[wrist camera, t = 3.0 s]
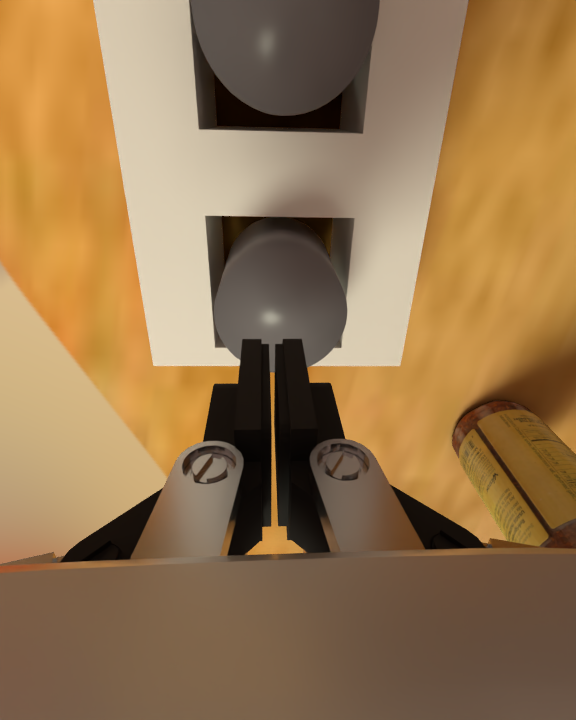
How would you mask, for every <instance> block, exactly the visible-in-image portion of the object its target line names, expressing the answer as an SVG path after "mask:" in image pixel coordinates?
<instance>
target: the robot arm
mask: <svg viewBox="0 0 576 720" xmlns="http://www.w3.org/2000/svg"><path fill="white" fill-rule="evenodd" d="M274 428H275V456H276V482H277V509H278V526H287V540H292V541H294V542H295V543H296V544H297V545H299V546H300V547H301V548H302V549H304V551H303V553H296V554H266V555H247V552H248V551H249V550H250V549H252V548H253V547H254V546H255V545H256V544H257V543H258V542H259V541H262V527H268V526H271V394H270V359H269V344H262V340H261V339H242V348H241V358H240V369H239V380H238V384H214V386H213V391H212V397H211V402H210V407H209V413H208V418H207V424H206V429H205V434H204V440H203V442H202V443H197V444H195V445H193V446H191V447H189V448H187V449H186V450H185V451H184V452H182V453H181V454H180V456H179V457H178V459H177V460H176V462H175V464H174V466H173V468H172V470H171V472H170V475H169V477H168V479H167V481H166V483H165V485H164V487H163V488H162V489H161V490H159V491H157V492H156V493H154V494H153V495H151V496H150V497H149V498H147V499H145V500H144V501H142V502H140V503H139V504H137V505H136V506H135V507H133V508H131V509H130V510H128V511H127V512H125V513H123V514H122V515H120V516H119V517H117V518H116V519H114V520H113V521H111V522H110V523H108V524H107V525H105V526H103V527H102V528H100V529H99V530H97V531H96V532H94V533H93V534H91V535H89V536H88V537H86V538H85V539H83V540H82V541H80V542H79V543H78V544H76V545H75V546H74V547H73V548H71V549H70V550H69V551H68V552H67V554H66V555H65V556H61V557H57V558H56V556H55V554H54V552H52V553H48V554H43V555H39V556H34V557H30V558H26V559H21V560H17V561H12V562H8V563H3V564H0V720H576V549H568V548H545V547H539V546H533V545H527V544H521V543H515V542H509V541H504V540H498V539H492V538H490V539H489V542H488V544H487V543H482V542H481V541H480V540H479V539H478V538H477V537H476V536H474V535H473V534H472V533H470V532H469V531H468V530H466V529H465V528H463V527H461V526H460V525H458V524H456V523H454V522H453V521H451V520H449V519H448V518H446V517H444V516H443V515H441V514H439V513H437V512H436V511H434V510H432V509H431V508H429V507H427V506H426V505H424V504H422V503H421V502H419V501H417V500H415V499H414V498H412V497H410V496H409V495H407V494H405V493H404V492H402V491H400V490H398V489H397V488H395V487H393V486H392V485H390V484H389V482H388V480H387V478H386V476H385V475H384V473H383V471H382V469H381V467H380V465H379V464H378V462H377V460H376V458H375V456H374V455H373V454H372V453H371V451H370V450H369V449H367V448H366V447H365V446H363V445H362V444H360V443H357V442H355V441H352V440H347V439H345V436H344V432H343V428H342V424H341V421H340V417H339V413H338V409H337V405H336V401H335V397H334V393H333V390H332V386H331V383H310V382H309V376H308V371H307V365H306V359H305V354H304V348H303V343H302V339H283V340H282V344H275V410H274Z"/></svg>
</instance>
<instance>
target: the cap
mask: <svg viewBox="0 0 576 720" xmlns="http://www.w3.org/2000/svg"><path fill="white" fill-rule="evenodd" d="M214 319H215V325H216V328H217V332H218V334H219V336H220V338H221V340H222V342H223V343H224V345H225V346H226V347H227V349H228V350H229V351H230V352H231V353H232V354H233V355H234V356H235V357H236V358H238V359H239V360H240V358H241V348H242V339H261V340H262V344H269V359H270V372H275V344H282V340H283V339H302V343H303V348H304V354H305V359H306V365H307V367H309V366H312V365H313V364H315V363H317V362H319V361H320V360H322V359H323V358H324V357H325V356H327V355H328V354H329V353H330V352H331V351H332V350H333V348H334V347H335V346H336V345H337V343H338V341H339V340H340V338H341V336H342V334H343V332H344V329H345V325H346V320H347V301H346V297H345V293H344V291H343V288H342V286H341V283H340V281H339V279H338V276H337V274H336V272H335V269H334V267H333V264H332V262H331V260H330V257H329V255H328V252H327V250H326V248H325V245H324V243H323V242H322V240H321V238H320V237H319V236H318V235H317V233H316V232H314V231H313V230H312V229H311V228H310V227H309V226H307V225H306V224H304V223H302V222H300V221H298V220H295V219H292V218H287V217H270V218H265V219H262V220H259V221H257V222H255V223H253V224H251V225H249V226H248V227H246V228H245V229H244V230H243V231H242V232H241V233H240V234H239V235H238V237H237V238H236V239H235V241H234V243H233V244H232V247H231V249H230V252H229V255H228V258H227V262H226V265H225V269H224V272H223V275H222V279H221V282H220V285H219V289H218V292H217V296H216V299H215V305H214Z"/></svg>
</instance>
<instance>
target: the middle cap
mask: <svg viewBox="0 0 576 720" xmlns="http://www.w3.org/2000/svg"><path fill="white" fill-rule="evenodd" d="M379 4H380V0H191V6H192V14H193V20H194V25H195V29H196V34H197V37H198V40H199V43H200V46H201V48H202V51H203V53H204V55H205V57H206V59H207V61H208V63H209V65H210V66H211V68H212V70H213V71H214V73H215V75H216V76H217V77H218V78H219V80H220V81H221V82H222V84H223V85H224V86H225V87H226V88H227V89H228V90H229V91H230V92H231V93H232V94H233V95H235V96H236V97H237V98H238V99H240V100H241V101H242V102H244V103H246V104H247V105H249V106H251V107H252V108H255V109H257V110H259V111H261V112H264V113H267V114H271V115H279V116H287V115H298V114H303V113H307V112H310V111H313V110H316V109H318V108H320V107H322V106H323V105H325V104H327V103H329V102H330V101H331V100H333V99H334V98H335V97H337V96H338V95H339V94H340V93H341V92H342V91H343V90H344V89H345V88H346V87H347V86H348V85H349V84H350V82H351V81H352V80H353V79H354V77H355V76H356V74H357V73H358V71H359V70H360V68H361V67H362V65H363V63H364V61H365V59H366V57H367V55H368V52H369V49H370V47H371V44H372V41H373V38H374V34H375V30H376V27H377V21H378V14H379Z"/></svg>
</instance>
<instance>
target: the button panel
mask: <svg viewBox="0 0 576 720" xmlns="http://www.w3.org/2000/svg"><path fill="white" fill-rule="evenodd" d="M468 1H469V0H380V4H379V14H378V21H377V27H376V30H375V34H374V38H373V41H372V44H371V47H370V49H369V52H368V55H367V57H366V59H365V61H364V63H363V65H362V67H361V68H360V70H359V71H358V73H357V74H356V76H355V77H354V79H353V80H352V81H351V82H350V84H349V85H348V86H347V87H346V88H345V89H344V90H343V91H342V104H341V117H340V129H317V128H278V127H239V126H217V118H216V100H215V82H214V71H213V70H212V68H211V66H210V65H209V63H208V61H207V59H206V57H205V55H204V53H203V51H202V48H201V46H200V43H199V40H198V37H197V34H196V29H195V25H194V20H193V14H192V6H191V0H93V2H94V8H95V14H96V20H97V26H98V32H99V38H100V44H101V50H102V57H103V63H104V69H105V75H106V81H107V87H108V93H109V99H110V105H111V111H112V117H113V123H114V129H115V135H116V141H117V147H118V154H119V160H120V166H121V172H122V178H123V184H124V190H125V196H126V202H127V208H128V214H129V220H130V226H131V232H132V238H133V244H134V251H135V257H136V263H137V269H138V275H139V281H140V287H141V293H142V299H143V305H144V311H145V317H146V323H147V329H148V335H149V341H150V348H151V354H152V360H153V366H240V360H239V359H238V358H236V357H235V356H234V355H233V354H232V353H231V352H230V351H229V350H228V349H227V347H226V346H225V345H224V343H223V342H222V340H221V338H220V336H219V334H218V332H217V328H216V325H215V319H214V305H215V299H216V296H217V292H218V289H219V285H220V282H221V279H222V275H223V272H224V269H225V263H224V245H223V227H222V216H259V217H320V218H333V223H332V236H331V249H330V260H331V262H332V264H333V267H334V269H335V272H336V274H337V276H338V279H339V281H340V283H341V286H342V288H343V291H344V293H345V297H346V301H347V320H346V325H345V329H344V332H343V334H342V336H341V338H340V340H339V341H338V343H337V345H336V346H335V347H334V348H333V350H332V351H331V352H330V353H329V354H328V355H327V356H325V357H324V358H323V359H322V360H320V361H319V362H317V363H315V364H313V365H312V366H400V364H401V359H402V353H403V348H404V343H405V337H406V332H407V327H408V321H409V316H410V311H411V305H412V300H413V295H414V289H415V284H416V279H417V273H418V268H419V263H420V257H421V252H422V247H423V241H424V236H425V231H426V225H427V220H428V215H429V209H430V204H431V199H432V193H433V188H434V183H435V177H436V172H437V167H438V161H439V156H440V151H441V145H442V140H443V135H444V129H445V124H446V119H447V113H448V108H449V103H450V97H451V92H452V87H453V81H454V76H455V71H456V65H457V60H458V55H459V49H460V44H461V39H462V33H463V28H464V23H465V17H466V12H467V7H468Z"/></svg>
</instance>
